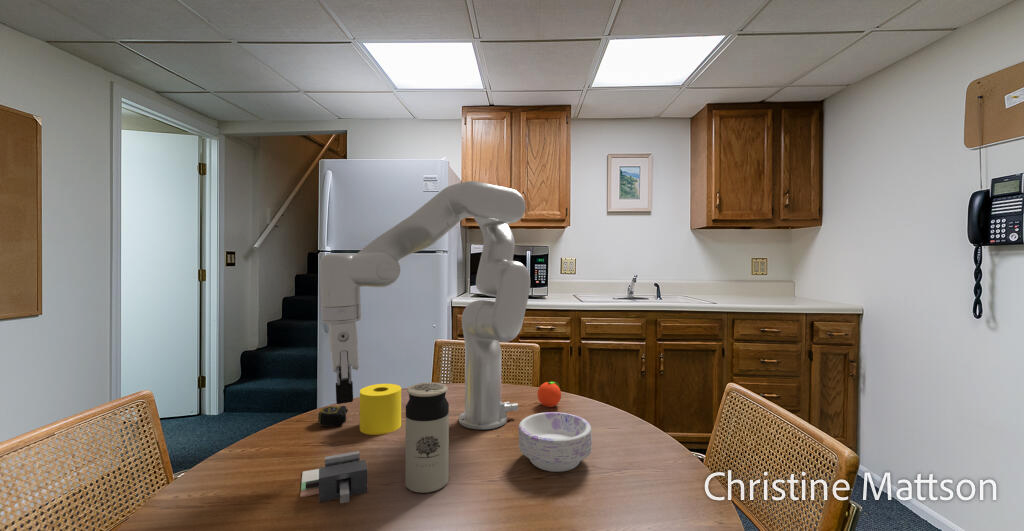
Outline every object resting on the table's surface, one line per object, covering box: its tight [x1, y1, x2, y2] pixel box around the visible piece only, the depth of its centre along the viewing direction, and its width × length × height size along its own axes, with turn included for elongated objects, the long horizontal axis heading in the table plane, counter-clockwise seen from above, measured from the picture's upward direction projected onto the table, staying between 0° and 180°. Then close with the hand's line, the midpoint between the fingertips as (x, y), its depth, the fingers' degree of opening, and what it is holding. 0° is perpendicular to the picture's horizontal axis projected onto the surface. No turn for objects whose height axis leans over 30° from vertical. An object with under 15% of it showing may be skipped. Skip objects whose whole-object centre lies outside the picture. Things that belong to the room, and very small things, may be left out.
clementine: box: [536, 381, 562, 408], centre depth 122 cm, size 8×7×7 cm
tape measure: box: [317, 405, 349, 427], centre depth 108 cm, size 7×7×4 cm
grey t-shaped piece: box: [306, 450, 361, 504], centre depth 74 cm, size 9×10×5 cm
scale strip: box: [299, 468, 319, 498], centre depth 79 cm, size 3×10×1 cm, turn 24°
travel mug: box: [404, 382, 450, 494], centre depth 79 cm, size 8×8×18 cm
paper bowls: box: [518, 411, 593, 473], centre depth 88 cm, size 15×15×8 cm
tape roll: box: [359, 383, 402, 436], centre depth 106 cm, size 10×10×9 cm
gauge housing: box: [318, 459, 369, 503], centre depth 76 cm, size 8×4×4 cm, turn 114°
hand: (344, 401), depth 87 cm, fingers closed
